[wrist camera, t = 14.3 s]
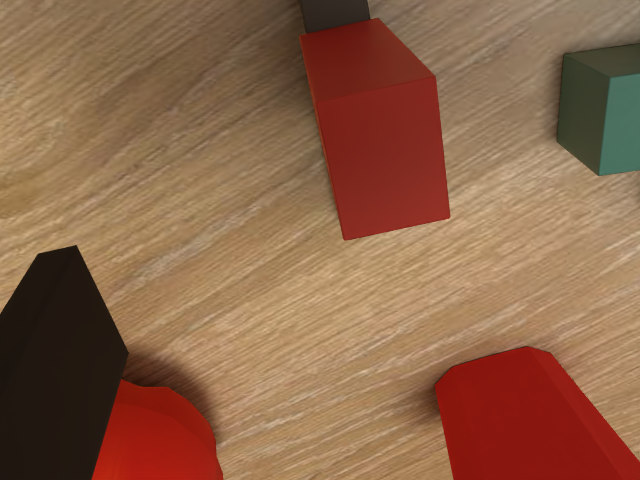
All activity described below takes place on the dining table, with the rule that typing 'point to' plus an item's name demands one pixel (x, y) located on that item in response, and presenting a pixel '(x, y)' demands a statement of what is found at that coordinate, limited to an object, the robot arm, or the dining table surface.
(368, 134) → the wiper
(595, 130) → the cube
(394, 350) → the dining table surface
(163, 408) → the tomato
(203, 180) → the dining table surface
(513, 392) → the french fries
